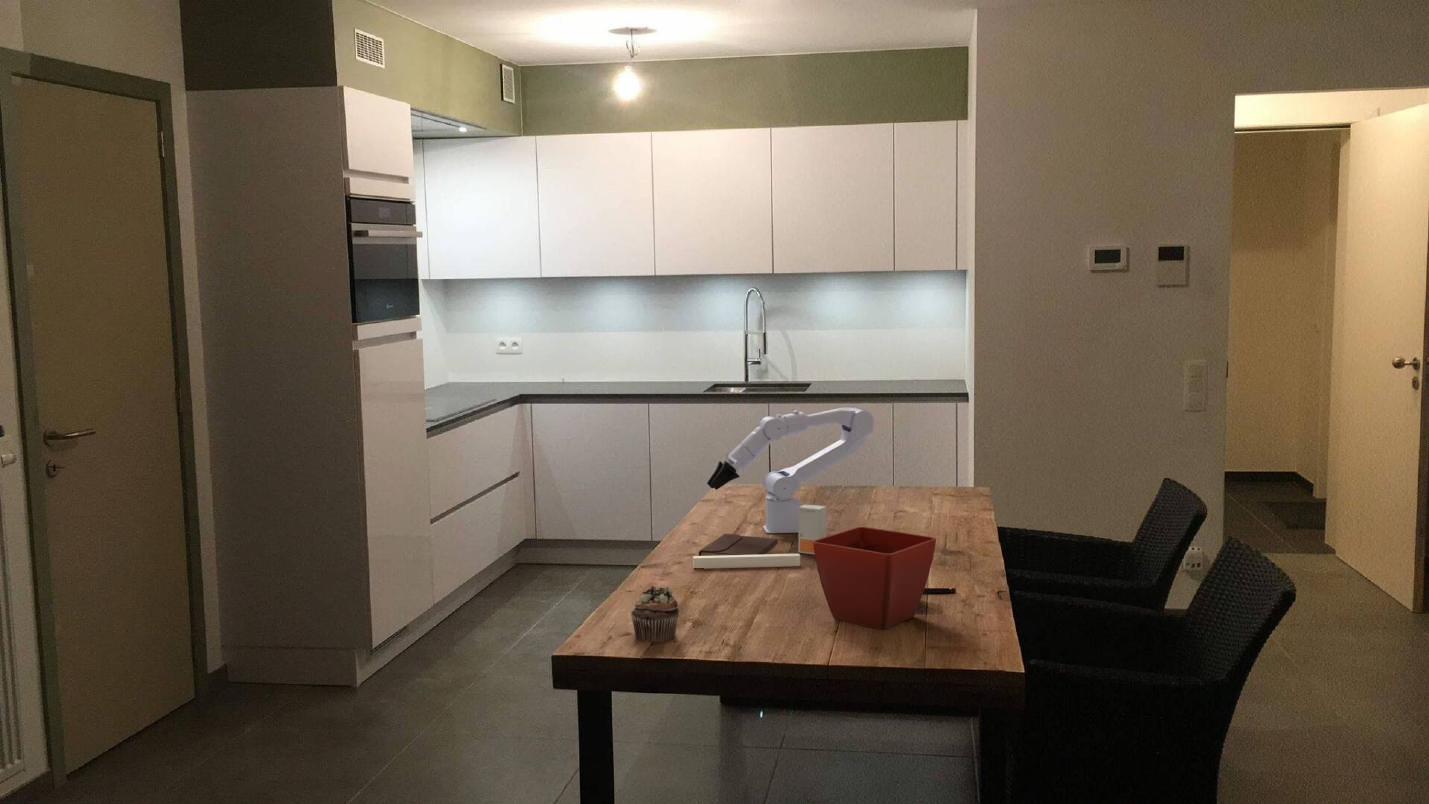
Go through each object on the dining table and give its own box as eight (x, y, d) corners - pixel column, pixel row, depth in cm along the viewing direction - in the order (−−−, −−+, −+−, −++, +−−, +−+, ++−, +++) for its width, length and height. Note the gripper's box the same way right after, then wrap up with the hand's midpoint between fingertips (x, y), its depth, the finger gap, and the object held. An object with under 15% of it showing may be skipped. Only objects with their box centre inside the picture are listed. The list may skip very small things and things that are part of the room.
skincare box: (797, 553, 316) (797, 506, 315) (804, 549, 320) (804, 503, 319) (819, 555, 314) (820, 509, 312) (826, 552, 317) (826, 506, 316)
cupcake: (678, 628, 254) (678, 580, 253) (679, 643, 245) (678, 593, 243) (631, 629, 254) (631, 581, 253) (630, 644, 244) (629, 594, 243)
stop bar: (798, 564, 306) (798, 553, 305) (800, 566, 304) (800, 555, 303) (693, 566, 303) (692, 556, 303) (693, 568, 301) (693, 558, 301)
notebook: (777, 544, 328) (777, 537, 328) (755, 562, 310) (755, 554, 309) (723, 540, 333) (723, 533, 333) (698, 557, 315) (698, 549, 314)
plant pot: (860, 600, 274) (860, 524, 272) (937, 615, 262) (938, 537, 260) (810, 620, 259) (810, 540, 257) (889, 637, 247) (890, 554, 245)
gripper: (732, 440, 344) (697, 475, 342) (741, 440, 329) (704, 476, 328) (750, 459, 344) (715, 493, 343) (759, 459, 330) (723, 495, 328)
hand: (711, 486), depth 335 cm, fingers open, 7 cm apart
